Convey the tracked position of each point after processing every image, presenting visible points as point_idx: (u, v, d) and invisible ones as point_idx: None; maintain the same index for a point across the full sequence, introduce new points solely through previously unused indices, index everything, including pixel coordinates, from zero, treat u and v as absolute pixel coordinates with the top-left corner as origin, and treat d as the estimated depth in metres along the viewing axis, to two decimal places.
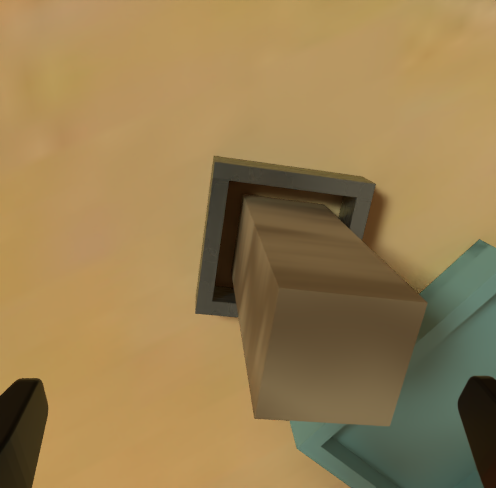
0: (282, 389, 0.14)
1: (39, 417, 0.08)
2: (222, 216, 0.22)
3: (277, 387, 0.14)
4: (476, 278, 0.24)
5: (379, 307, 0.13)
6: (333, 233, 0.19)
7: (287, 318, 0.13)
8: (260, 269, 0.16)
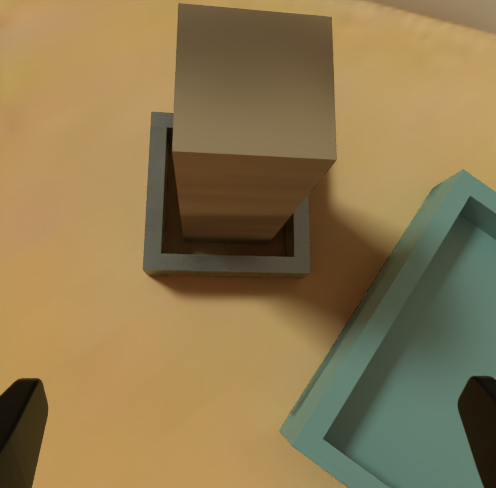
0: (199, 113, 0.12)
1: (39, 417, 0.08)
2: (163, 161, 0.22)
3: (193, 110, 0.12)
4: (438, 202, 0.23)
5: (283, 22, 0.13)
6: None
7: (191, 33, 0.12)
8: None
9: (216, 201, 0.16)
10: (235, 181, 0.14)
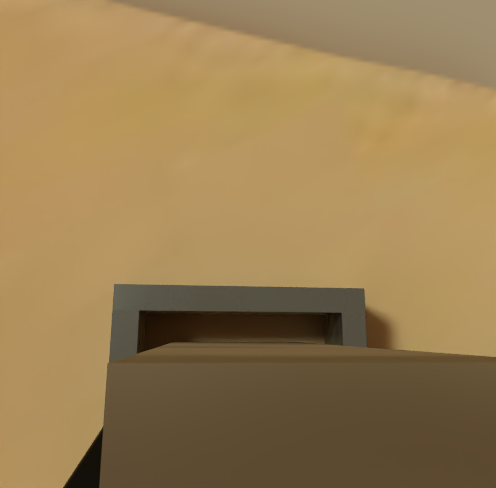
0: None
1: None
2: None
3: None
4: None
5: (435, 397, 0.04)
6: (308, 346, 0.11)
7: (149, 475, 0.04)
8: None
9: None
10: None
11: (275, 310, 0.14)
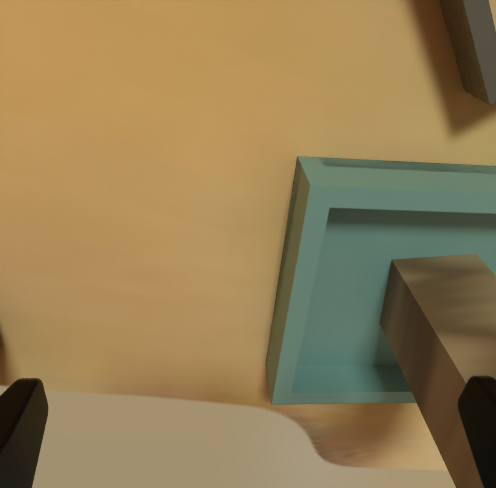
0: None
1: (39, 417, 0.08)
2: None
3: None
4: None
5: None
6: None
7: None
8: None
9: (454, 402, 0.17)
10: None
11: None
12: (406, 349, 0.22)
